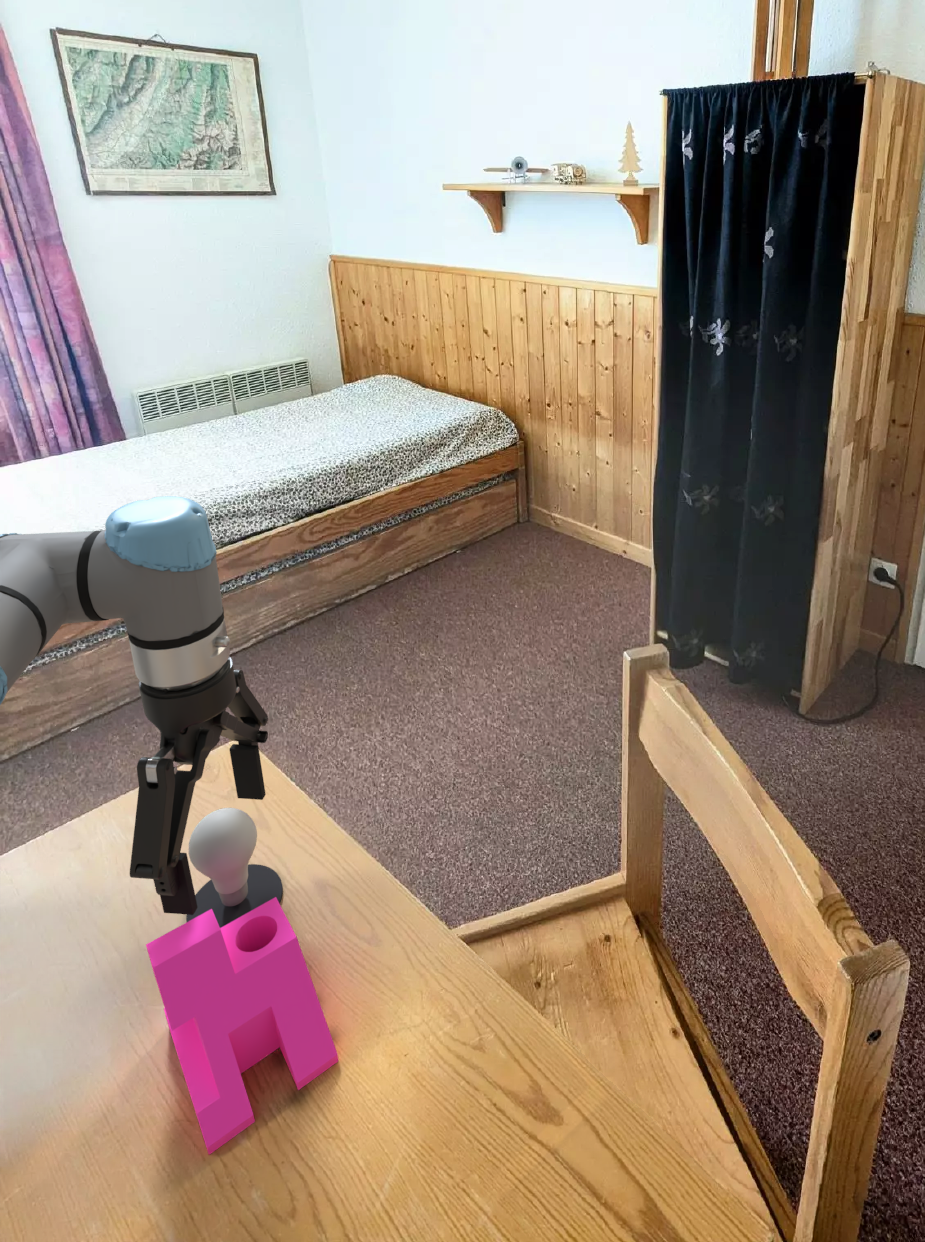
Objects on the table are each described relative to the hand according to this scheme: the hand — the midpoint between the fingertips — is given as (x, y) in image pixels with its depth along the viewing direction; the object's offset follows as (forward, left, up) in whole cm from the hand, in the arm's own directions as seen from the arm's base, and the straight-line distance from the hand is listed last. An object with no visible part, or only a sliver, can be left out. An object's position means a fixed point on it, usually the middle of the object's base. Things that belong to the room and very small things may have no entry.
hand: (219, 848), depth 76 cm
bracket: (+8, -13, -8) cm, 17 cm away
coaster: (0, 0, -8) cm, 8 cm away
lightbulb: (0, 0, -7) cm, 7 cm away
